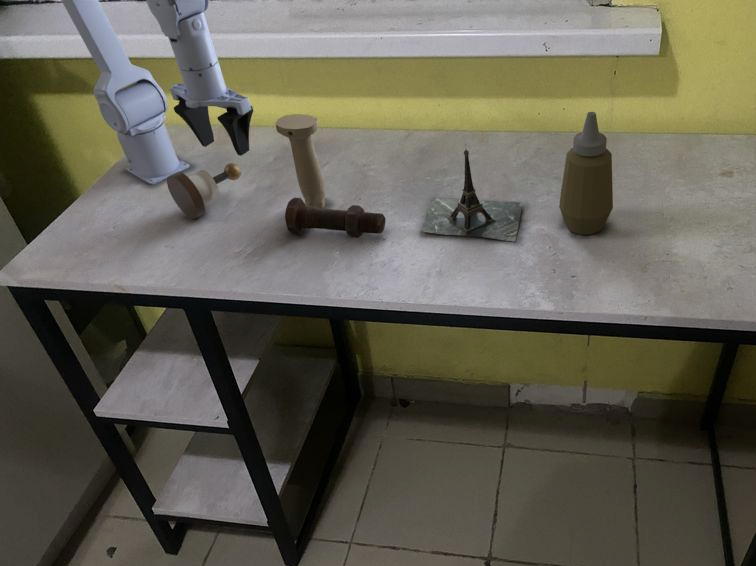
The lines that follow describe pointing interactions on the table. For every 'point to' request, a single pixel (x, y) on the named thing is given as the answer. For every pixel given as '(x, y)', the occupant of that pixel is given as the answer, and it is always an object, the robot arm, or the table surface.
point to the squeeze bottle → (587, 181)
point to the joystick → (198, 188)
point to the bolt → (332, 219)
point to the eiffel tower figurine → (473, 214)
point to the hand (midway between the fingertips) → (225, 148)
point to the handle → (304, 156)
